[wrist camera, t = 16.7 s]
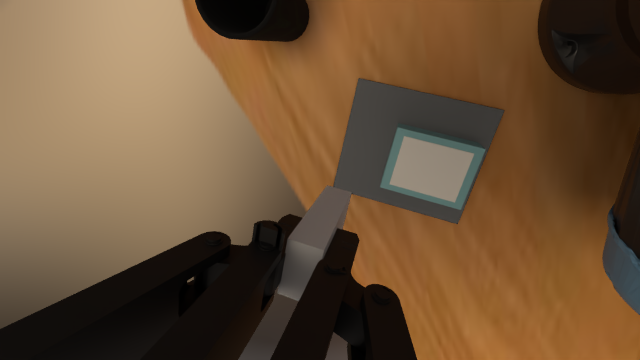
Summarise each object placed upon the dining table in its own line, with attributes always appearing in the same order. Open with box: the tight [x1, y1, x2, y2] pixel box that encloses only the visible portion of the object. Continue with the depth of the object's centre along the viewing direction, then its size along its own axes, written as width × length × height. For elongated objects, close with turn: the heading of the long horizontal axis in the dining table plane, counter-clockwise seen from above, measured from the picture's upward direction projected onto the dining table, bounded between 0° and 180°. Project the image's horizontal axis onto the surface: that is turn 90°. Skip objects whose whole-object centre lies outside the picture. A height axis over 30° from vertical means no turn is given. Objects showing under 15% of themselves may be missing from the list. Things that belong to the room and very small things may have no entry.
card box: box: [380, 123, 486, 210], centre depth 35 cm, size 4×7×9 cm
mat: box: [333, 78, 504, 224], centre depth 37 cm, size 14×16×1 cm
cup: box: [195, 0, 309, 42], centre depth 30 cm, size 8×8×12 cm
